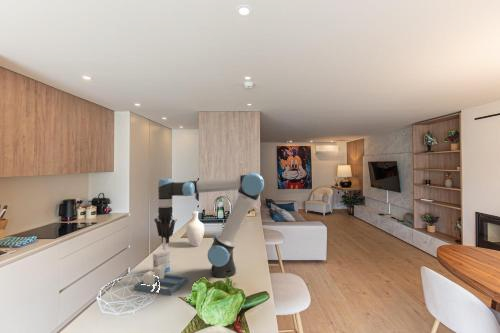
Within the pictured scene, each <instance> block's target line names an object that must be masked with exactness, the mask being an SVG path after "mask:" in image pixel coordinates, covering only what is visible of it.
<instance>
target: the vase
mask: <svg viewBox="0 0 500 333" xmlns="http://www.w3.org/2000/svg"><path fill="white" fill-rule="evenodd" d="M191 214H192V220H191V221H190V222H188V223H187V225H186V230H185V231H186V232H185V233H186V236H187V239H188V242H189V243H190V245H191V246H192V247H198V246H200V245H201V242H202V240H203V237H204V235H205V225H204V223H203V222H202V221H200V219H199V211H197V210H195V211H194V210H193V211H192V212H191Z"/></svg>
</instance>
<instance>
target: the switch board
mask: <svg viewBox="0 0 500 333" xmlns="http://www.w3.org/2000/svg"><path fill="white" fill-rule="evenodd" d="M188 277H189V276H188ZM188 277H187V275H179V274H171V273H166V272H165V273H164V278H163V279H158V278H155V283H156V282H157V286H155V289H154V291H153V292H154V293H153V292H152V293H153V294H156V293H155V292H156V291H157V290H158V288H159V286H158V285H159V282H160V290H159V293H158V294H159V295H160V294H161V295H167V296H172V295H173V294H175V293H176V292H177V291H178V290H180V288H182V287H183V286H184V285H185V284H187V283H188V282H189V281H188V280H189V278H188ZM158 280H159V282H158ZM141 284H143V279H142V280H140V282H139V281H138V282H137V283H136V284H135V285H133V287H134V288H133V289H134V291H138V292H139V291H141V292H146V291H151V290H152V289H153V286H152V285H150V286H147V285H141Z"/></svg>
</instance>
